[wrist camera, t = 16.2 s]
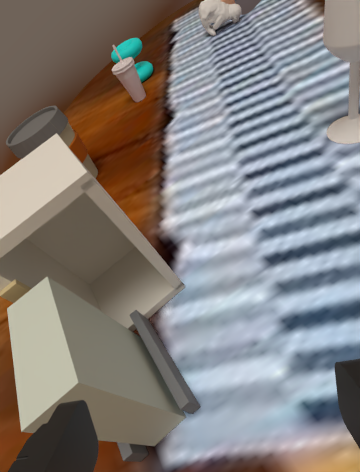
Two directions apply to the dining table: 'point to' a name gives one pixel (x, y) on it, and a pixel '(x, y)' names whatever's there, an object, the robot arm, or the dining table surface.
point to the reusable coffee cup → (48, 136)
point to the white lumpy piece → (217, 14)
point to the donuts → (132, 50)
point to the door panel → (86, 368)
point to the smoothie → (129, 77)
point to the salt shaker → (228, 1)
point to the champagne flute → (349, 50)
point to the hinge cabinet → (84, 253)
